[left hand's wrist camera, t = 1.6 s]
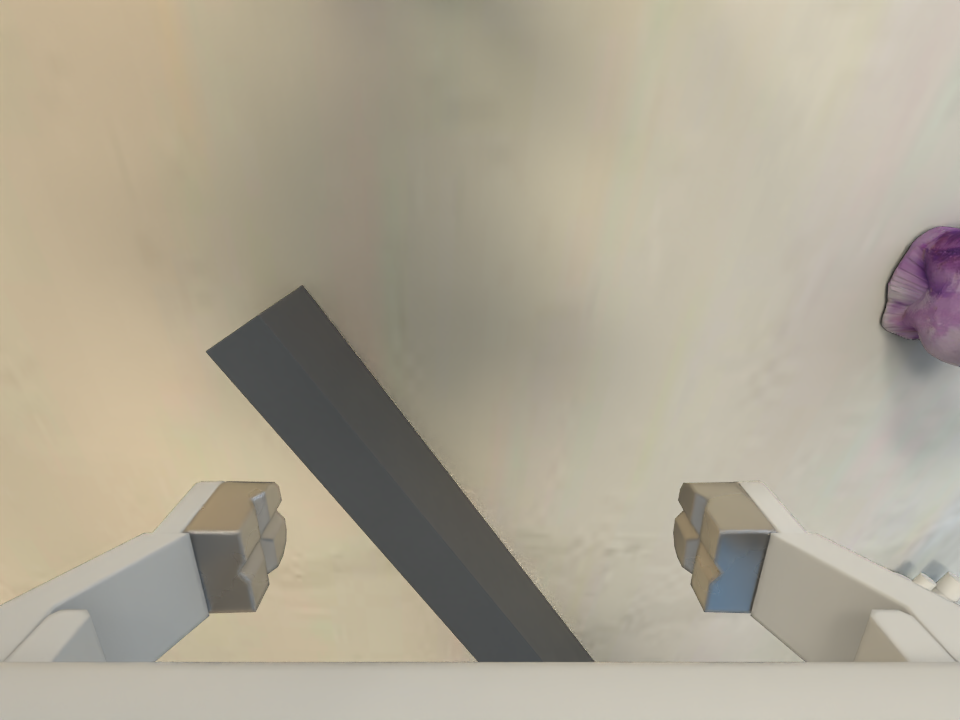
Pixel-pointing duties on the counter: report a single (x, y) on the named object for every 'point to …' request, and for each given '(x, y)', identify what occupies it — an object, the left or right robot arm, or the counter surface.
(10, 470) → the counter surface
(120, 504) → the counter surface
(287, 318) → the bar
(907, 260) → the figurine
